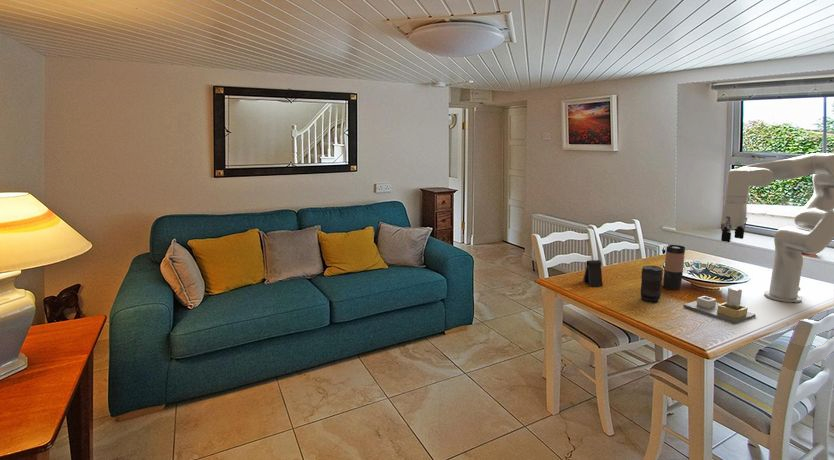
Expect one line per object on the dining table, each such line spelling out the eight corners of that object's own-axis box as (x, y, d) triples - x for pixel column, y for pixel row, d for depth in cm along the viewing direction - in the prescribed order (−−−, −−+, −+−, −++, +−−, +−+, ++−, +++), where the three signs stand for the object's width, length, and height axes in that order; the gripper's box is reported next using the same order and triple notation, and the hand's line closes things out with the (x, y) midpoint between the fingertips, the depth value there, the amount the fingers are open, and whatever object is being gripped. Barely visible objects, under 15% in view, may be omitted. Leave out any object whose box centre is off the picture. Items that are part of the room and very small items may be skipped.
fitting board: (703, 301, 190) (704, 292, 189) (755, 317, 172) (756, 307, 171) (683, 307, 184) (684, 297, 183) (734, 324, 166) (736, 314, 165)
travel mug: (683, 290, 203) (688, 248, 199) (665, 289, 205) (669, 248, 201) (677, 285, 211) (681, 244, 207) (660, 284, 212) (664, 244, 208)
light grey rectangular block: (729, 310, 176) (732, 286, 174) (741, 314, 173) (744, 290, 171) (722, 312, 175) (725, 288, 173) (734, 316, 171) (737, 292, 169)
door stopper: (582, 281, 220) (584, 258, 217) (594, 280, 220) (595, 257, 217) (590, 287, 211) (592, 263, 208) (602, 286, 211) (604, 262, 209)
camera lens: (641, 295, 198) (644, 264, 195) (661, 299, 193) (664, 267, 190) (637, 301, 192) (640, 268, 189) (657, 305, 187) (661, 271, 184)
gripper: (738, 196, 186) (734, 235, 190) (714, 200, 179) (710, 241, 182) (758, 198, 180) (753, 238, 183) (734, 202, 172) (730, 244, 176)
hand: (732, 239), depth 183 cm, fingers open, 9 cm apart
